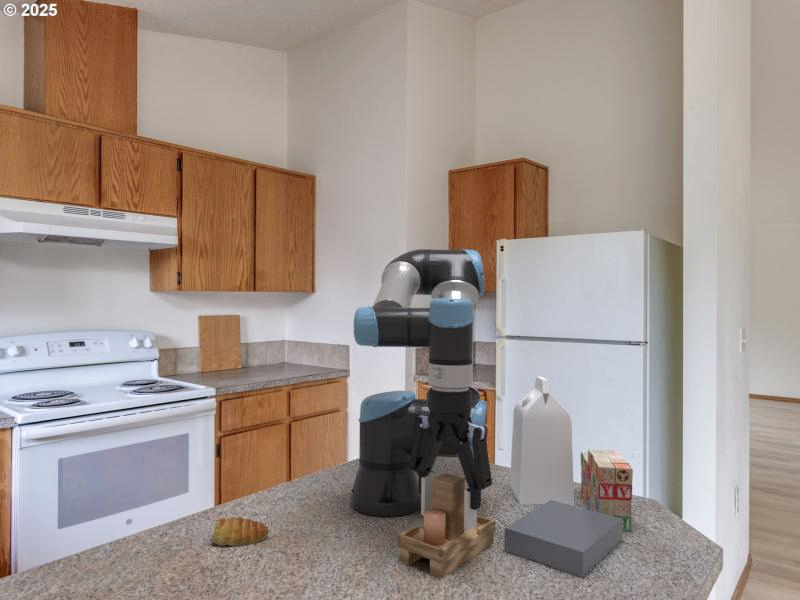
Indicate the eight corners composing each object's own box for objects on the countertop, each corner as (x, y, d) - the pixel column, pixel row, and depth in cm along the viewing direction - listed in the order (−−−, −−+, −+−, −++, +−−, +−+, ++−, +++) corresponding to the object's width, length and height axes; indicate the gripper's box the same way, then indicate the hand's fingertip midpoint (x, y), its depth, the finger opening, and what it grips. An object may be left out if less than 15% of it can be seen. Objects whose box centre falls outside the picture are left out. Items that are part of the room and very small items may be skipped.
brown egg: (419, 540, 94) (419, 513, 94) (434, 534, 96) (434, 507, 96) (435, 547, 91) (435, 519, 91) (450, 540, 94) (450, 513, 94)
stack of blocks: (580, 491, 128) (580, 437, 128) (608, 493, 127) (609, 439, 127) (597, 530, 107) (598, 465, 107) (632, 533, 106) (633, 467, 106)
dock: (504, 550, 98) (504, 527, 98) (550, 520, 112) (550, 499, 112) (582, 577, 89) (583, 552, 89) (622, 540, 103) (622, 518, 103)
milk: (574, 505, 120) (576, 382, 120) (519, 504, 120) (521, 382, 120) (559, 486, 132) (561, 374, 132) (509, 485, 132) (511, 374, 132)
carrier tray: (441, 579, 88) (442, 496, 88) (397, 561, 94) (398, 483, 94) (494, 545, 100) (495, 472, 100) (452, 531, 106) (453, 462, 106)
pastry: (269, 531, 105) (269, 510, 105) (265, 547, 99) (265, 525, 99) (217, 533, 104) (217, 512, 104) (210, 549, 98) (210, 527, 98)
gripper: (389, 383, 101) (387, 510, 101) (492, 398, 87) (490, 545, 87) (415, 379, 106) (413, 499, 107) (515, 392, 93) (513, 530, 93)
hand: (448, 519), depth 97 cm, fingers open, 8 cm apart
